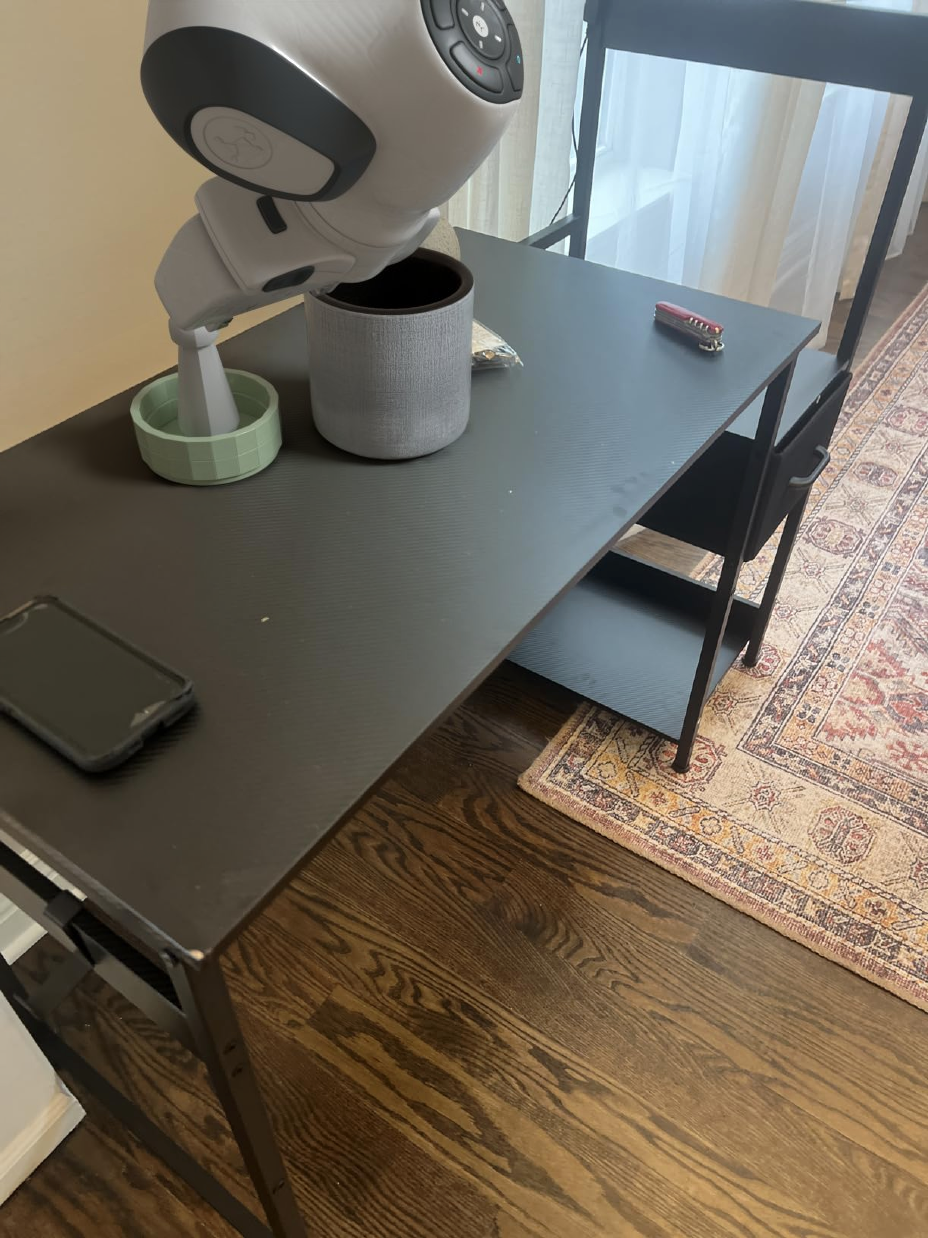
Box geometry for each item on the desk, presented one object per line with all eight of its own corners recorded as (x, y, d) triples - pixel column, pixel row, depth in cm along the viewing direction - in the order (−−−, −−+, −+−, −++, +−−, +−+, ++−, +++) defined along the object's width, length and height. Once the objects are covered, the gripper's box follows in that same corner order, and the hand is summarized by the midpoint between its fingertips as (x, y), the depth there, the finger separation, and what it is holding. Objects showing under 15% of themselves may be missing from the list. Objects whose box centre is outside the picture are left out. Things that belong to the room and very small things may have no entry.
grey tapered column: (169, 448, 89) (143, 320, 81) (203, 419, 93) (181, 294, 85) (222, 462, 88) (200, 333, 79) (254, 433, 92) (237, 307, 83)
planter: (282, 415, 96) (266, 267, 85) (404, 370, 104) (403, 229, 93) (376, 486, 88) (371, 331, 77) (501, 430, 95) (512, 283, 85)
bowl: (155, 500, 85) (144, 453, 81) (130, 426, 94) (119, 381, 90) (300, 470, 89) (295, 424, 86) (262, 401, 98) (257, 358, 95)
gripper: (441, 125, 62) (354, 230, 74) (173, 188, 52) (120, 299, 63) (484, 213, 63) (392, 303, 75) (229, 293, 52) (167, 384, 64)
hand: (265, 302), depth 69 cm, fingers open, 8 cm apart
